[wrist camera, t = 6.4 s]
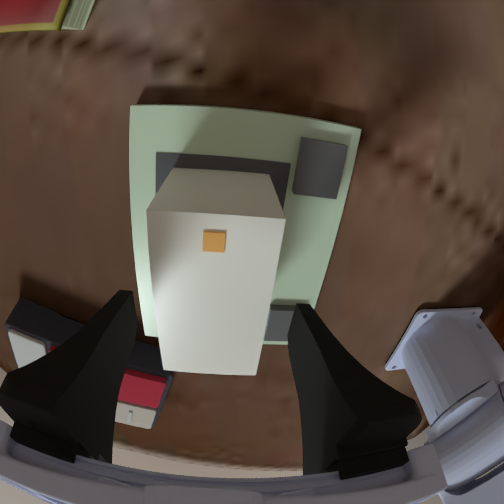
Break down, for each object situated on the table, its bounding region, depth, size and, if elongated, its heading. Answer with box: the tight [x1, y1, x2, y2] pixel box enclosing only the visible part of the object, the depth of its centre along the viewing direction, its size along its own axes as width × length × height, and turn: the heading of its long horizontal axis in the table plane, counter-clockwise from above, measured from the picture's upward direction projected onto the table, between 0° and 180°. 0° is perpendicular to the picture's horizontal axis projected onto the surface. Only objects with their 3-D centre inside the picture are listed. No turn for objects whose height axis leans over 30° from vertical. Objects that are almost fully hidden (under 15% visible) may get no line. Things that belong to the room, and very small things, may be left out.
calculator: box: [5, 298, 174, 429], centre depth 23 cm, size 11×4×15 cm
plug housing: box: [146, 168, 286, 375], centre depth 15 cm, size 5×9×6 cm, turn 174°
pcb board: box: [129, 104, 361, 344], centre depth 17 cm, size 12×16×4 cm
